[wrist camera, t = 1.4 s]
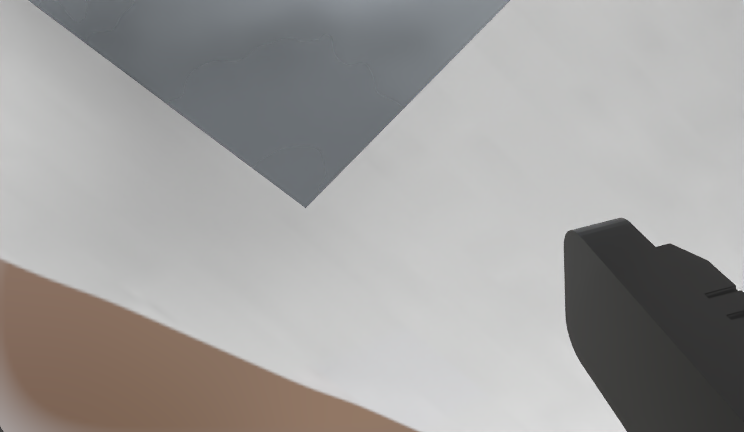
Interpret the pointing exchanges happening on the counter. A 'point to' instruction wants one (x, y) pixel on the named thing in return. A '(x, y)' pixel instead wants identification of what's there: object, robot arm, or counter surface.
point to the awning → (281, 69)
